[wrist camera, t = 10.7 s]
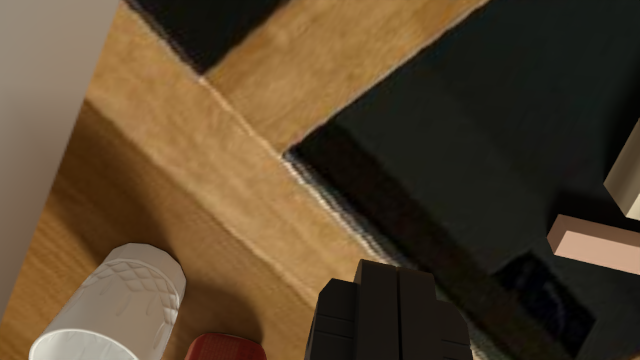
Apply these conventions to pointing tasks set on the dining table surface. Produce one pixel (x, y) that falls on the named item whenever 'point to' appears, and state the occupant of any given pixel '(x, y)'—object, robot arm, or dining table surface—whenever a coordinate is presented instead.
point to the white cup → (118, 310)
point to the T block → (627, 176)
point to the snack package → (224, 348)
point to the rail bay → (595, 243)
